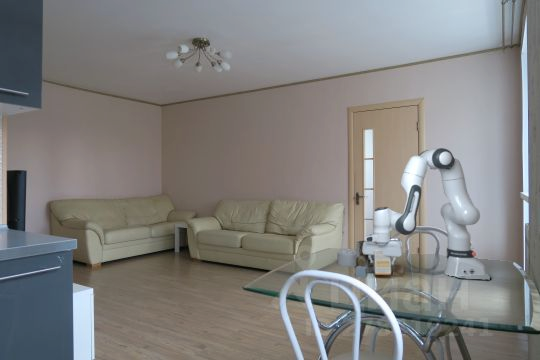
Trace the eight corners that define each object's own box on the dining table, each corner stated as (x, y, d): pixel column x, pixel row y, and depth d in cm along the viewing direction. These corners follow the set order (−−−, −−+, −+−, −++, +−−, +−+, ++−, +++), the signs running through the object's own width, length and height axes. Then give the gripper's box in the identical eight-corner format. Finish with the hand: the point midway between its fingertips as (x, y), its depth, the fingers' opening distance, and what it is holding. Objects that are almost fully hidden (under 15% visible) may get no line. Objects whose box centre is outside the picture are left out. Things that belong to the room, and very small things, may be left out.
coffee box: (375, 271, 214) (376, 242, 213) (368, 272, 210) (368, 243, 210) (363, 267, 221) (363, 240, 221) (355, 269, 218) (355, 241, 217)
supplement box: (389, 272, 203) (389, 248, 203) (391, 275, 198) (390, 250, 198) (373, 272, 204) (373, 248, 204) (374, 274, 199) (374, 250, 199)
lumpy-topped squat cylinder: (360, 266, 224) (360, 252, 224) (338, 266, 225) (338, 251, 225) (357, 262, 234) (357, 248, 234) (336, 261, 235) (336, 248, 235)
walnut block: (403, 274, 207) (403, 265, 207) (402, 276, 203) (403, 267, 202) (394, 273, 209) (394, 264, 209) (393, 275, 205) (393, 266, 204)
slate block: (366, 276, 204) (366, 266, 204) (365, 278, 200) (365, 269, 199) (357, 275, 206) (357, 265, 206) (355, 277, 202) (355, 268, 201)
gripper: (403, 237, 199) (403, 263, 199) (363, 235, 207) (363, 260, 207) (402, 240, 193) (402, 266, 194) (361, 237, 201) (361, 263, 202)
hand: (382, 263), depth 201 cm, fingers closed on supplement box, 8 cm apart
